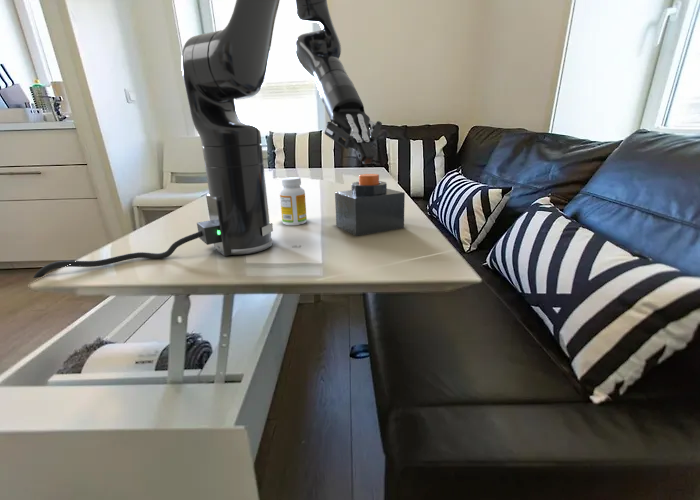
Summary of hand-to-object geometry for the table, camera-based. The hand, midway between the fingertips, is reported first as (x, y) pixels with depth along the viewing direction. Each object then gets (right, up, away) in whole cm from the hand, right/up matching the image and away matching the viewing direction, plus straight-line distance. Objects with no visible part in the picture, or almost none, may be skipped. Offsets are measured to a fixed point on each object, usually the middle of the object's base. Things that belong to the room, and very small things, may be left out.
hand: (368, 160), depth 70 cm
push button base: (0, -13, +4) cm, 13 cm away
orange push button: (0, -4, +2) cm, 5 cm away
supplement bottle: (-16, -12, +10) cm, 22 cm away
